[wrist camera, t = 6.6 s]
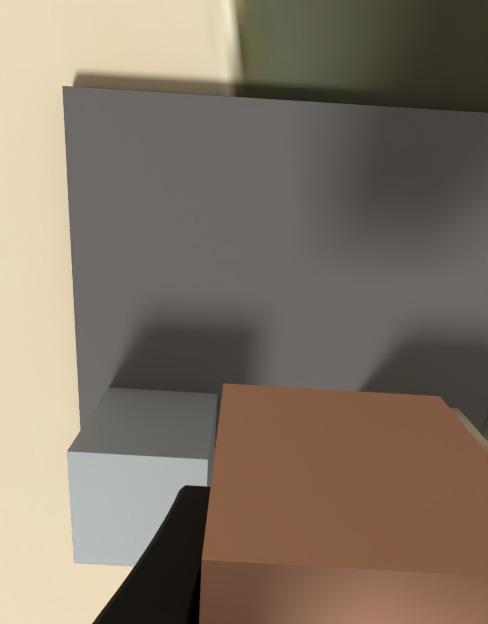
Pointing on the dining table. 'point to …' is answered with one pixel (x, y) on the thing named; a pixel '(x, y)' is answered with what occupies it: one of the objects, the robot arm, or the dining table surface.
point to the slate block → (136, 468)
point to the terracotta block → (344, 511)
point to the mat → (277, 246)
